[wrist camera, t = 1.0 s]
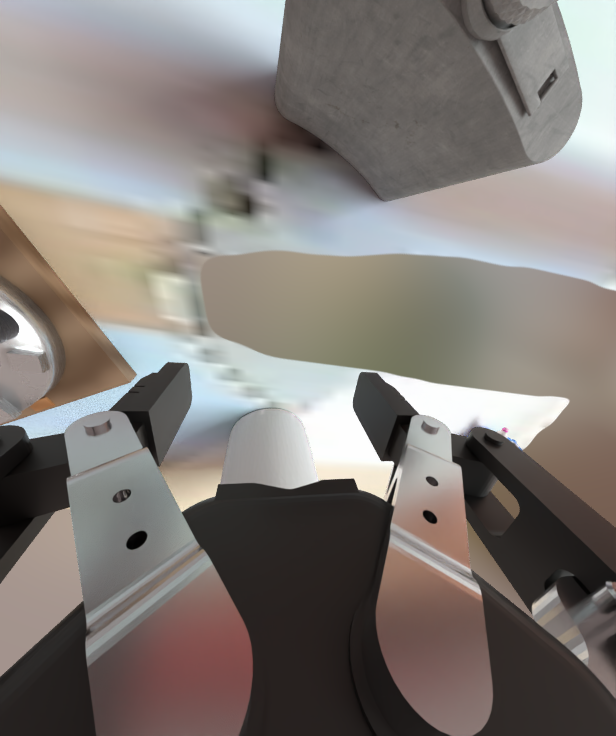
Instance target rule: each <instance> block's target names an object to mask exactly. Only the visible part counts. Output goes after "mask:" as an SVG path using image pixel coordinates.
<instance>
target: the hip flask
mask: <svg viewBox="0 0 616 736" xmlns="http://www.w3.org/2000/svg"><path fill="white" fill-rule="evenodd" d="M557 1H558V0H286V1H285V10H284V18H283V26H282V34H281V43H280V51H279V59H278V67H277V76H276V84H275V93H274V94H275V102H276V106H277V108H278V110H279V112H280V114H281V115H282V116H283V117H284V118H286V119H287V120H289V121H291V122H293V123H295V124H297V125H299V126H300V127H302V128H304V129H306V130H307V131H309V132H310V133H312V134H313V135H315V136H316V137H318V138H319V139H321V140H322V141H324V142H325V143H326V144H327V145H329V146H330V147H331V148H333V149H334V150H335V151H336V152H337V153H338V154H340V155H341V156H342V157H343V158H344V159H345V160H347V161H348V162H349V163H350V164H351V165H352V166H353V167H354V168H355V169H356V170H357V171H358V172H359V173H360V174H361V175H362V176H363V177H364V179H365V180H366V181H367V182H368V183H369V184H370V186H371V187H372V188H373V189H374V191H375V192H376V193H377V195H378V196H379V197H380V199H382V200H383V201H392V200H396V199H400V198H404V197H408V196H411V195H415V194H419V193H423V192H427V191H431V190H435V189H439V188H443V187H447V186H451V185H455V184H459V183H463V182H467V181H471V180H475V179H479V178H483V177H486V176H490V175H494V174H498V173H502V172H506V171H510V170H514V169H518V168H522V167H526V166H530V165H534V164H538V163H542V162H545V161H547V160H549V159H551V158H552V157H554V156H555V155H556V154H557V153H558V152H559V151H560V150H561V149H562V148H563V147H564V146H565V144H566V143H567V141H568V140H569V138H570V137H571V135H572V133H573V131H574V129H575V127H576V125H577V122H578V119H579V116H580V112H581V108H582V91H581V87H580V82H579V77H578V73H577V68H576V64H575V60H574V56H573V52H572V48H571V44H570V41H569V37H568V34H567V31H566V28H565V25H564V21H563V18H562V15H561V12H560V9H559V7H558V4H557Z"/></svg>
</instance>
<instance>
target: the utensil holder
mask: <svg viewBox="0 0 616 736" xmlns="http://www.w3.org/2000/svg"><path fill="white" fill-rule="evenodd" d="M318 481H319V480H318V476H317V472H316V468H315V464H314V460H313V455H312V451H311V447H310V444H309V440H308V437H307V434H306V430H305V427H304V425H303V423H302V421H301V420H300V419H299V418H298V417H297V416H296V415H294V414H292V413H291V412H288V411H286V410H282V409H274V408H269V409H261V410H257V411H254V412H251V413H249V414H247V415H245V416H243V417H242V418H241V419H239V420H238V421H237V422H236V424H235V425H234V426H233V428H232V430H231V433H230V437H229V441H228V446H227V451H226V456H225V461H224V466H223V472H222V478H221V483H220V484H237V483H258V484H264V485H269V486H274V487H279V488H285V489H294V488H298V487H301V486H304V485H308V484H311V483H315V482H318Z"/></svg>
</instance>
